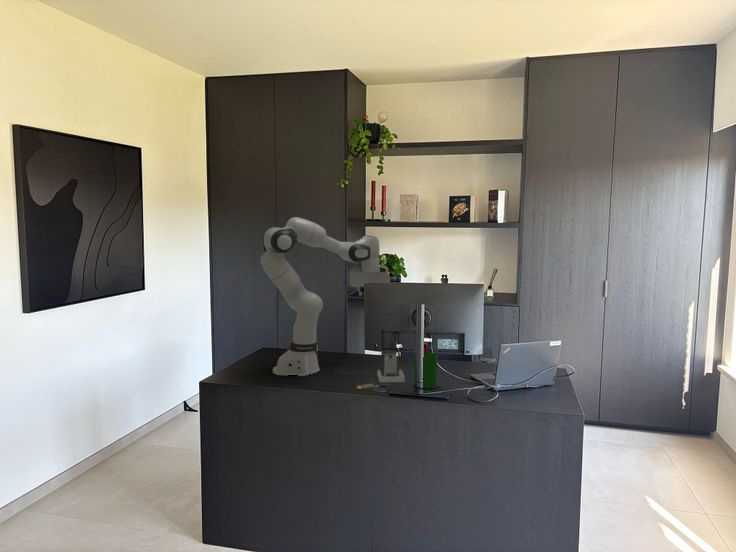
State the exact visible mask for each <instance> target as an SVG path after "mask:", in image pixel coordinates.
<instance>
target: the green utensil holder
mask: <svg viewBox="0 0 736 552" xmlns="http://www.w3.org/2000/svg"><path fill="white" fill-rule="evenodd" d="M428 345H429V344H428V342H424V357H423V388H425V389H424V390H431V389H430V388H432V389H435V387H436V386H437V384H438V353H439V351H438V350H435V351H434V352H430V351H429V350H428V348H429V347H428ZM416 349H417V348H416ZM416 349H414V355H413V356H414V357H413V358H414V360H413V386H414V387H415V383H416ZM428 351H429V352H428ZM437 387H438V386H437ZM437 387H436V388H437Z"/></svg>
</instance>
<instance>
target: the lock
mask: <svg viewBox="0 0 736 552" xmlns="http://www.w3.org/2000/svg"><path fill="white" fill-rule="evenodd" d="M383 360H384V369H383V370H384V371H383V372H384V373H383V376H398V375H397V374H398V373H397V369H398V367H397V366H398V364H397V363H398V359H397V356H396V354H395V355H393V353H389V354H388V355H384V359H383Z"/></svg>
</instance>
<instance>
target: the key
mask: <svg viewBox="0 0 736 552" xmlns="http://www.w3.org/2000/svg"><path fill="white" fill-rule="evenodd" d="M374 387H375V385H374V384H373V383H367V384H359V385H358V384H357V385H356V386H355V389H356V390H363V389H369V388H374Z"/></svg>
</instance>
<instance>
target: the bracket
mask: <svg viewBox="0 0 736 552" xmlns="http://www.w3.org/2000/svg"><path fill="white" fill-rule="evenodd" d="M376 373H377V374H376V375H377V379H378V382H379V383H381V384H382V383H405V381H406V379H405V378H406V376H405V374H404V372H403V370H402V369H398V375H397V376H384V375H382V372H381V370H380V369H377V372H376Z"/></svg>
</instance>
